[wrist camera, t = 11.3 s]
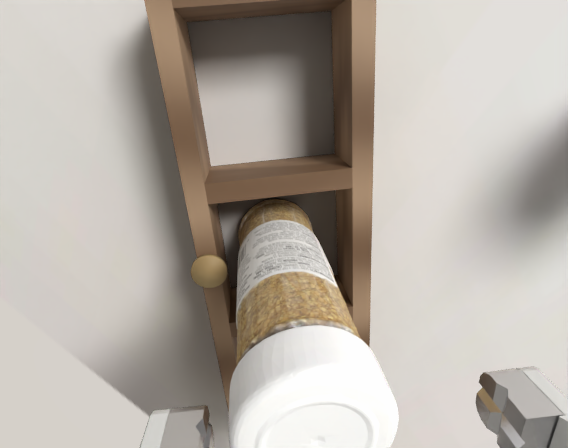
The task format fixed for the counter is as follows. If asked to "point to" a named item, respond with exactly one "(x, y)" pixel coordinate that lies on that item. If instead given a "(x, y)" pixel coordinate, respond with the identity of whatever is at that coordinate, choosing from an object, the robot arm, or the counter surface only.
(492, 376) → the robot arm
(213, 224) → the spice caddy
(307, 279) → the sprinkles bottle
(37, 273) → the counter surface
